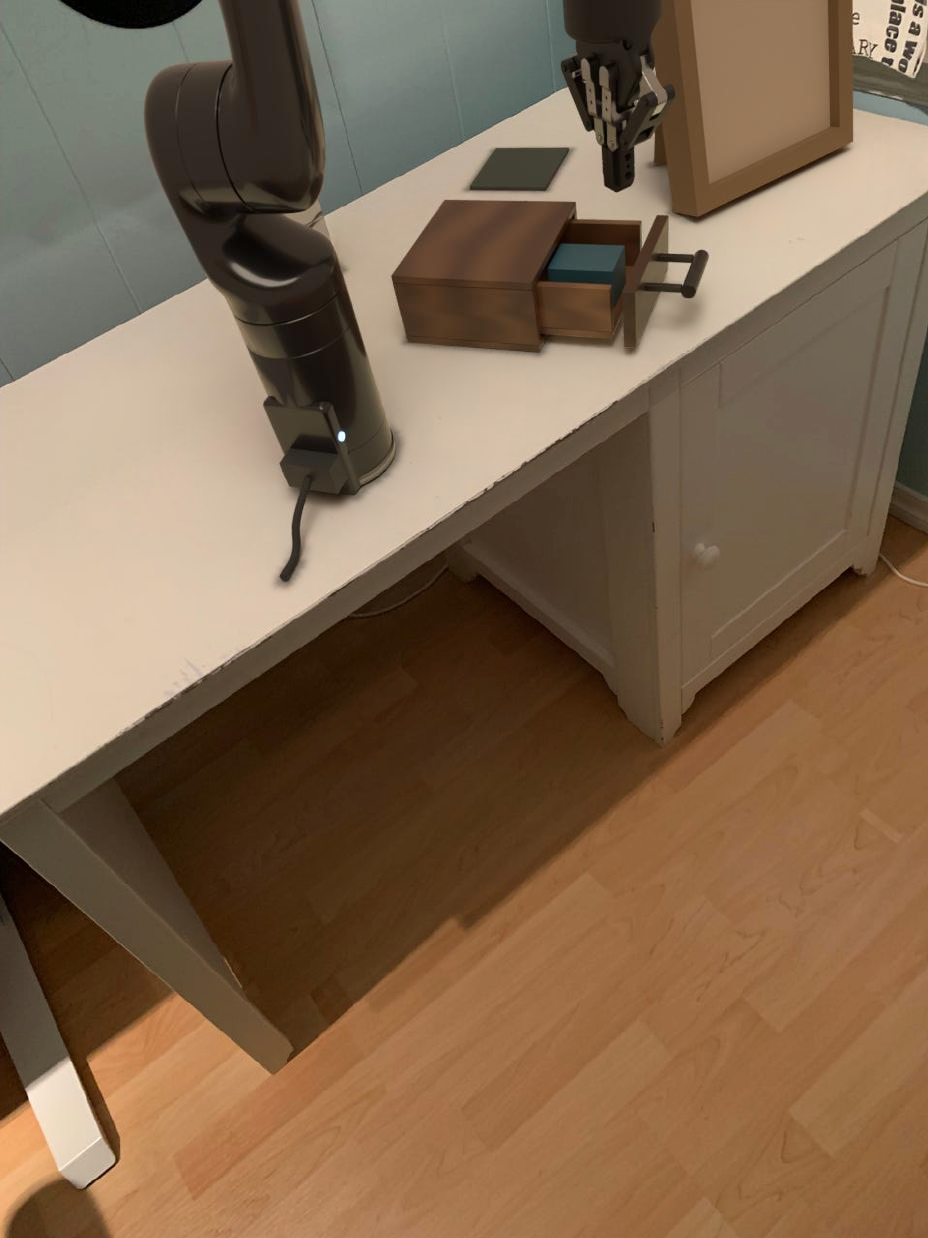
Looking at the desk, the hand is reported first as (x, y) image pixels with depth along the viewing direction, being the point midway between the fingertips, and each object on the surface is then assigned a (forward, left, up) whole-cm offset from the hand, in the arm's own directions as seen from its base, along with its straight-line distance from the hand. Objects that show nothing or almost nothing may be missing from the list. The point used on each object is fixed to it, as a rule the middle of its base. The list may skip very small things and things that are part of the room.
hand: (618, 186), depth 78 cm
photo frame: (+30, -5, -13) cm, 33 cm away
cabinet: (0, +14, -13) cm, 19 cm away
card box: (0, +4, -11) cm, 12 cm away
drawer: (0, +2, -12) cm, 12 cm away
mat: (+29, +21, -13) cm, 38 cm away
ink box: (+5, +40, -13) cm, 42 cm away
